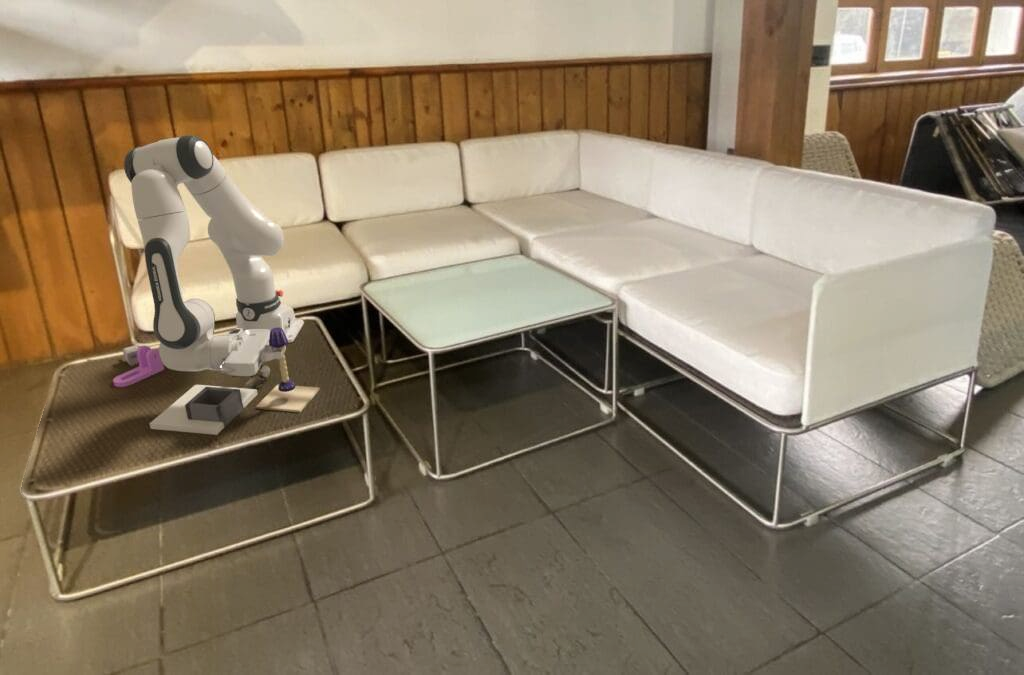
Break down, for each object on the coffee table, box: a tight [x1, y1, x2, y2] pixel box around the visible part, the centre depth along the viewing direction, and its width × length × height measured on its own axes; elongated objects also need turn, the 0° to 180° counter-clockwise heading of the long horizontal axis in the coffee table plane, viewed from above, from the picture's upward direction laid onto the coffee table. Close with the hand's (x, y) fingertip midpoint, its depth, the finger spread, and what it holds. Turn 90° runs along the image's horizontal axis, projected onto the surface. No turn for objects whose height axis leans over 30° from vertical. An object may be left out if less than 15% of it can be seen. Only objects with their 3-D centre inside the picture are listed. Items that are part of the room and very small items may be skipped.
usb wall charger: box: [122, 345, 139, 366], centre depth 216 cm, size 4×7×4 cm, turn 40°
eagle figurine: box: [230, 363, 271, 389], centre depth 200 cm, size 8×7×9 cm
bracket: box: [112, 345, 165, 388], centre depth 206 cm, size 13×6×7 cm, turn 148°
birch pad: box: [255, 383, 320, 413], centre depth 194 cm, size 12×12×1 cm
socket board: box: [149, 384, 258, 436], centre depth 188 cm, size 20×18×6 cm
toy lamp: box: [269, 327, 296, 392], centre depth 189 cm, size 5×5×17 cm
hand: (283, 351), depth 189 cm, fingers closed on toy lamp
